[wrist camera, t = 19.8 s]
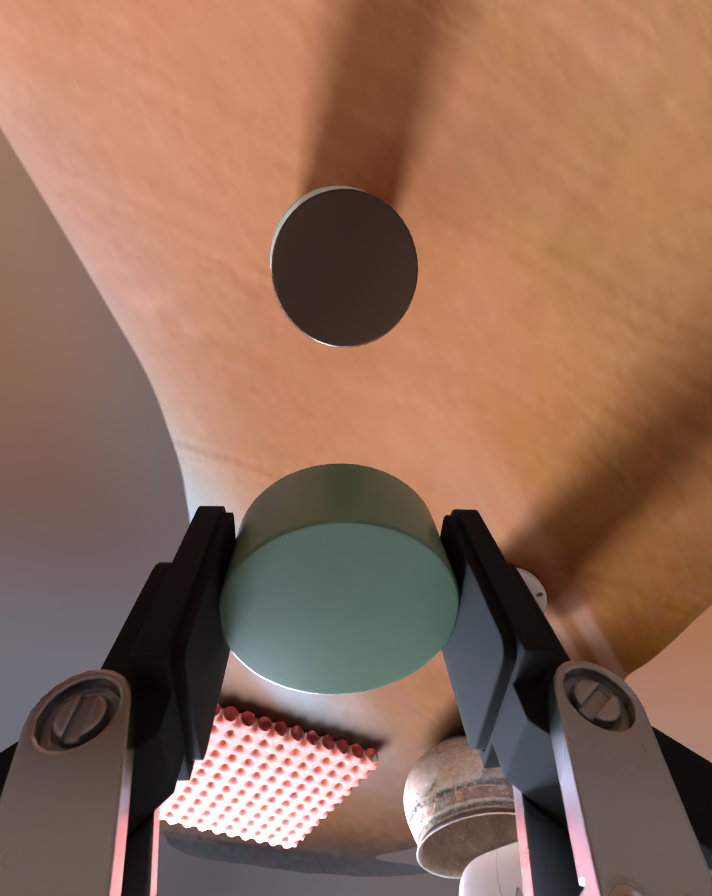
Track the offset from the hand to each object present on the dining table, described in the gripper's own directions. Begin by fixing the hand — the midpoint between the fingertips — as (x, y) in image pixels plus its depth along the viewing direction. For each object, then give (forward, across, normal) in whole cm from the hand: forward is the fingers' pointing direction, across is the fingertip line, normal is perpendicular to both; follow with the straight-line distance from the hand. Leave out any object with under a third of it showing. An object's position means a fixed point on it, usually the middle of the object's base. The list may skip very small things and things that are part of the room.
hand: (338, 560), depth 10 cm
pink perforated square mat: (+29, +9, +69) cm, 75 cm away
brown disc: (+10, 0, -6) cm, 11 cm away
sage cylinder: (0, 0, 0) cm, 0 cm away
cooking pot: (+29, -22, +63) cm, 73 cm away
